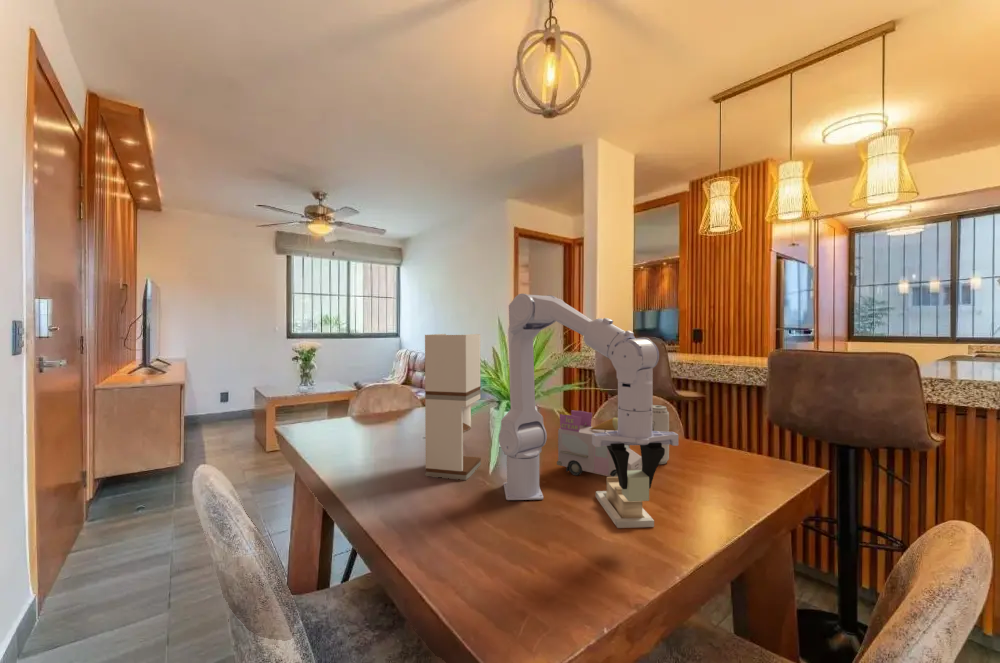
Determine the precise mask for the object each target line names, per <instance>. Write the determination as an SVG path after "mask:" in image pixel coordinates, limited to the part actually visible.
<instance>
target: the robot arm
mask: <svg viewBox="0 0 1000 663" xmlns="http://www.w3.org/2000/svg"><path fill="white" fill-rule="evenodd" d="M556 322H557V323H559V324H561V325H563V326H565V327H567V328H568V329H570V330H572V331H574V332H576V333H577V334H580V335H581V336H582V337H583V341H584V343H585V345H586V346H588V347H589V348H591V349H593V350H594V351H596V353H597V352H598V353H599V354H600V355H602V356H604V357H605V358H607V359H609V360H610V362H611V365H612V366H613V369H615V372H616V379H617V418H618V431H610V432H602V433H592V444H593V445H594V446H595V447H601V446H607V448H608V450H609V452H610V455H611V457H612V459H613V462H614V464H615V468H616V471H617V475H618V480H619V485H620V486H621V488H622V489H627V483H628V481H627V467H628V459H629V453H628V452H627V451H626V447H625V445H630V446H639V447H640V456H641V457H642V471H643V472H644V473H645V474H646V475H647V476H648V477H649V490H650V489H651V487H652V483H653V479H654V476H655V474H656V471H657V468H658V466H659V465H660V464H659V462H660V461H661V459H662V458H663V456H664V454H665V449H664V448H663V447H662V445H669V446H677V447H678V446H679V434H678V433H677V432H674V431H669V432H662V431H652V417H653V405H654V404H653V402H654V398H653V396H654V394H653V393H654V391H653V389H654V386H653V385H654V384H653V383H654V382H653V381H654V379H653V377H654V374H653V371H654V370H653V369H654V368H655V367H656V366H657V365H658V363H659V360H660V351H659V348H658V346H657V345H656V343H655V342H653V341H652V340H651V339H650V338H648V337H645V336H644V337H638V338H636V336H634V334H635V333H634V332H633V331H631V330H624V329H622V328H621V327H618V326H616V325H615V324H614V320H613V319H610V318H608V317H604V318H602V317H601V318H599V317H598V318H595V319H591V318H589V317H588V316H586V315H585V314H583V313H582V312H580V311H579V310H577V309H576V308H574V307H573V306H571V305H569V304H567V303H566V302H565V301H564V300H563V299H562V298H559V297H558V298H557V297H556V296H554V295H551V294H549V295H548V294H547V295H540V294H539V295H538V294H527V293H519V294H517V295H516V296H515V297H514V298H513V300H512V301H511V302H510V303H509V305H508V323H509V325H508V329H507V334H508V364H509V365H508V369H509V396H510V397H509V399H510V409H509V411H508V412H507V413H506V414H505V415H504V416H503V417H502V419H501V420H500V425H501V426H500V431H499V434H498V443H499V446H500V449H501V451H502V452H503V454H504V455H506V481H505V482H503V489H504V495H505V500H507V501H524V500H525V501H527V500H529V501H532V500H533V501H535V500H544V494H543V492H542V490H541V487H540V453H542V447H544V446H546V442H547V440H548V438H547V437H548V433H547V430H546V428H545V425H544V424H545V423H544V417H543V415H542V414H541V413H540V412H539V411H538V410H537V409H536V393H535V391H536V390H535V363H534V360H535V359H534V357H535V356H534V339H535V337H536V336H537V335H538V334H540V332H541V331H543V330H544V329H546V328H548V327H550V326H552V325H553V324H555V323H556Z"/></svg>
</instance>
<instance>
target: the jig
mask: <svg viewBox="0 0 1000 663" xmlns="http://www.w3.org/2000/svg"><path fill="white" fill-rule="evenodd" d="M595 498H596V499H597V501H598V502H599V504H600V505H601V507H602V508H603V509H604V511H605V512H606V514H607V515H608V517H609V518H610V519H611V521H612V522H613V524H614V525H615V527H616V528H617V529H625V528H627V529H629V528H630V529H633V528H655V520H654V519H653V517H652V516H651V515H650V514H649V513H648V512H647V510H645V509H644V507H642V518H621V517H620V516H619V514H618V513H617V512H616V510H615V509H614V508H613V506H612V505H611V504H610V502H609V501H608V500H607V498H606V490H597V491H595Z"/></svg>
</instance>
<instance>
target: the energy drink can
mask: <svg viewBox="0 0 1000 663" xmlns="http://www.w3.org/2000/svg"><path fill="white" fill-rule="evenodd" d="M667 408H668V407H667V406H666V405H660V404H653V417H652V431H662V432H670V412H669V411H668V409H667ZM662 447H663V448H664V449H665V454H664V456H663V458H662V459H661V461H660V462H659V464H658V465H665V464H667V463H668V461H669V460H670V445H662Z"/></svg>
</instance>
